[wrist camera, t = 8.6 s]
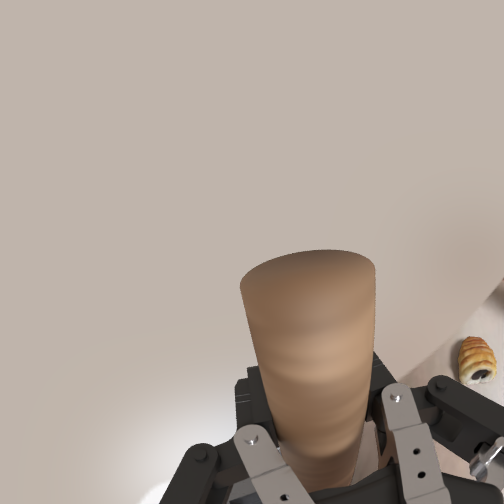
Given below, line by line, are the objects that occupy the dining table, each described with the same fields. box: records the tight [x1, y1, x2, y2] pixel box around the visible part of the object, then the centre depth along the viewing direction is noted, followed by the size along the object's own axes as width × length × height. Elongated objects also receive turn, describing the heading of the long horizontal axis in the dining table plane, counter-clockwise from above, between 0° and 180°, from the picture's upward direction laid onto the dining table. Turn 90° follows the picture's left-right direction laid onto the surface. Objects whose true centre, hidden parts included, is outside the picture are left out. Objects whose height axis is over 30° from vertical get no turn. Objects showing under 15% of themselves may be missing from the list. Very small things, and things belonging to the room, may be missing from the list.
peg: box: [240, 250, 375, 493], centre depth 10 cm, size 4×4×14 cm
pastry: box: [458, 336, 496, 385], centre depth 26 cm, size 9×7×4 cm
